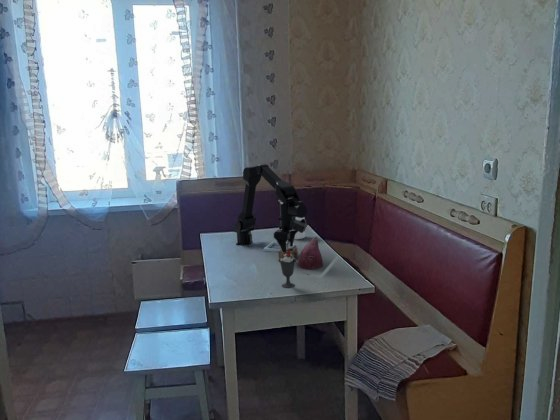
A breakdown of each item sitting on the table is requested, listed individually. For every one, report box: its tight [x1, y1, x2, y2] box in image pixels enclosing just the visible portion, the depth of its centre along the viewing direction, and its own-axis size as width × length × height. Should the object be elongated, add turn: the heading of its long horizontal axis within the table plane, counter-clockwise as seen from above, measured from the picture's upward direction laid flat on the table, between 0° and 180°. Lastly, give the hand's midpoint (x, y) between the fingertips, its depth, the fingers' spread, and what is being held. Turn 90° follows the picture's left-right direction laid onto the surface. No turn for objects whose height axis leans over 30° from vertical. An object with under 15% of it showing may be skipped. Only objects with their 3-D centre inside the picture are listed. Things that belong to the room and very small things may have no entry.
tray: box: [263, 241, 296, 253], centre depth 230 cm, size 11×11×2 cm
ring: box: [278, 247, 299, 259], centre depth 217 cm, size 7×6×3 cm
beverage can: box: [294, 216, 306, 240], centre depth 250 cm, size 8×8×12 cm
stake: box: [286, 240, 296, 259], centre depth 217 cm, size 7×7×8 cm
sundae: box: [278, 248, 297, 289], centre depth 183 cm, size 7×7×15 cm
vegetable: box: [297, 235, 324, 271], centre depth 203 cm, size 10×10×15 cm
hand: (287, 249), depth 217 cm, fingers open, 9 cm apart
